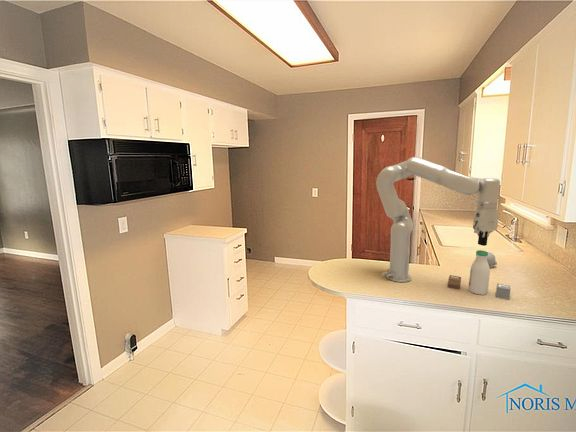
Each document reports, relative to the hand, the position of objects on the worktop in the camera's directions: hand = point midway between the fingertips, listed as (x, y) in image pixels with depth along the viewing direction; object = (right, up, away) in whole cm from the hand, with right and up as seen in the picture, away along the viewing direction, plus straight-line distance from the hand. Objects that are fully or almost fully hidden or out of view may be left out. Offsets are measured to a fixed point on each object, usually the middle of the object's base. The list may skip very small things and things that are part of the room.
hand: (482, 244), depth 138 cm
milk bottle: (+1, -23, +4) cm, 23 cm away
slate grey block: (+9, -24, -1) cm, 25 cm away
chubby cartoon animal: (+25, -17, +36) cm, 47 cm away
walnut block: (-8, -22, +10) cm, 25 cm away
